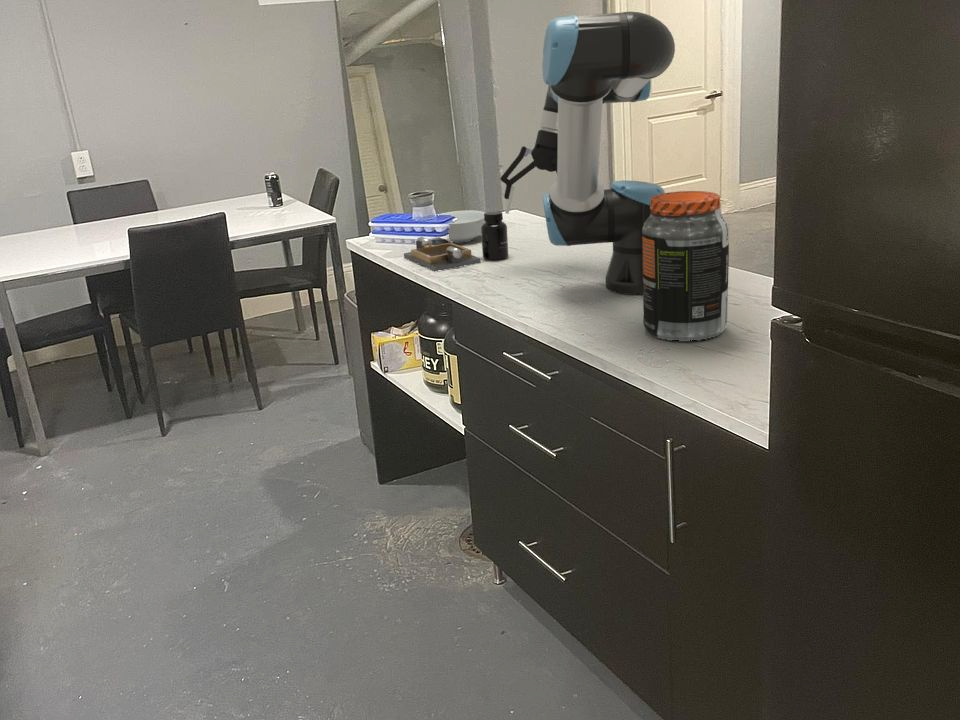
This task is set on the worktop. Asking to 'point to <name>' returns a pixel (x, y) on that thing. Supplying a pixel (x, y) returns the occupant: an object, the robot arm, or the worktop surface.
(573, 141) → the robot arm
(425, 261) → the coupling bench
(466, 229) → the cereal bowl
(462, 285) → the worktop surface
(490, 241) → the supplement bottle
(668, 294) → the supplement tub
